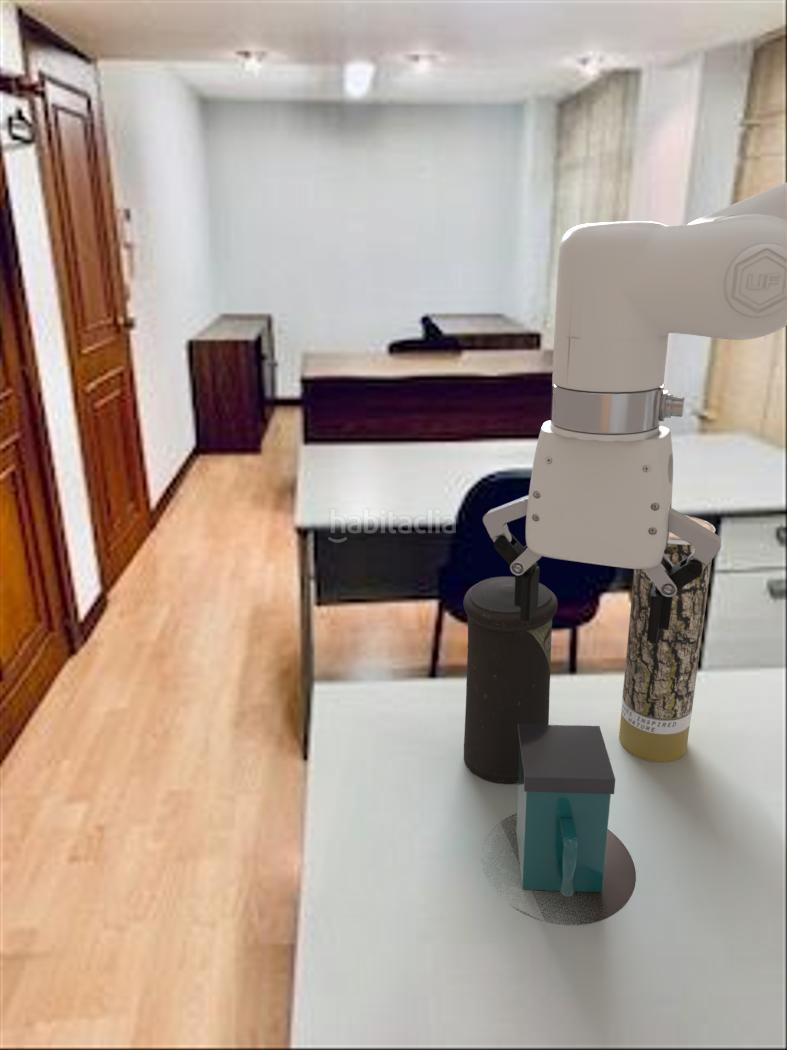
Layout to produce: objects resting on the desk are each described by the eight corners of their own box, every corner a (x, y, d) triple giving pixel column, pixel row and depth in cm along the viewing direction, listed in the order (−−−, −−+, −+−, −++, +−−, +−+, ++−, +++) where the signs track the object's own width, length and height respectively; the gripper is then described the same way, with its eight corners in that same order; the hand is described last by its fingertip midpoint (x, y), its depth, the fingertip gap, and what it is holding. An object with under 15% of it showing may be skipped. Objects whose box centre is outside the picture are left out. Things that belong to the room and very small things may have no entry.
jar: (513, 830, 68) (517, 723, 64) (590, 833, 68) (599, 725, 64) (522, 917, 60) (527, 799, 56) (610, 920, 59) (622, 802, 55)
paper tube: (691, 772, 76) (723, 541, 67) (621, 765, 77) (643, 537, 69) (680, 731, 82) (707, 515, 74) (615, 726, 84) (634, 512, 75)
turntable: (618, 817, 71) (619, 810, 70) (652, 937, 58) (653, 929, 58) (478, 813, 72) (478, 806, 71) (482, 930, 59) (483, 922, 59)
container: (565, 778, 76) (577, 598, 69) (485, 803, 73) (489, 617, 66) (521, 730, 83) (527, 563, 76) (447, 751, 80) (446, 579, 73)
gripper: (738, 406, 54) (709, 622, 60) (500, 393, 60) (495, 589, 66) (738, 430, 47) (705, 669, 53) (471, 413, 54) (469, 628, 60)
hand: (589, 624), depth 60 cm, fingers open, 9 cm apart
